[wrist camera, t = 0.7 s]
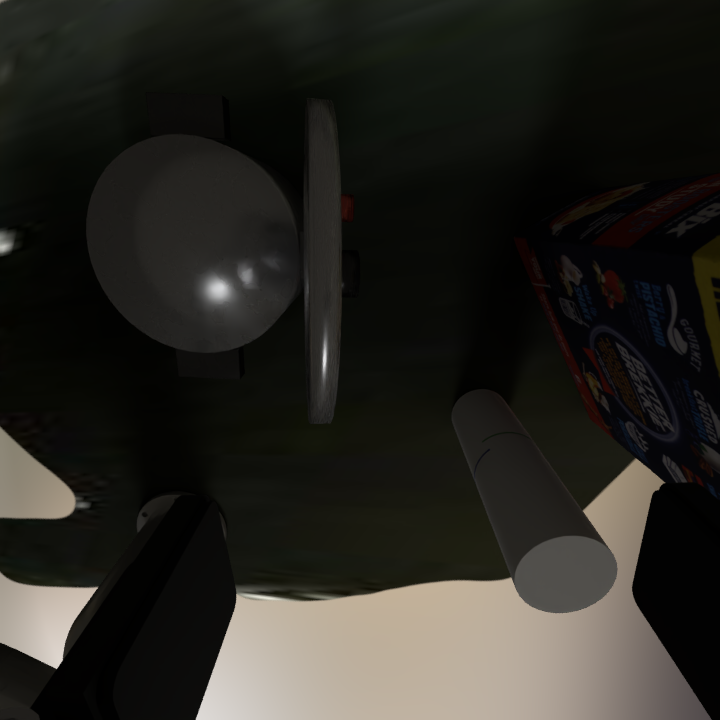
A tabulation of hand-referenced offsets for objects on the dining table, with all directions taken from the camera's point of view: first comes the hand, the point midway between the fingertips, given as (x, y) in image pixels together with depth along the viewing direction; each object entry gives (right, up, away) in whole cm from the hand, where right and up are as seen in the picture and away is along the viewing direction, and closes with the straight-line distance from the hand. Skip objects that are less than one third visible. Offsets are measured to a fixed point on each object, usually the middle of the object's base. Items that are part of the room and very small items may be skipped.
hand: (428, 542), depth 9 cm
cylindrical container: (+14, -3, +44) cm, 46 cm away
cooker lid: (-5, +10, +17) cm, 21 cm away
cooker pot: (-15, +17, +38) cm, 44 cm away
